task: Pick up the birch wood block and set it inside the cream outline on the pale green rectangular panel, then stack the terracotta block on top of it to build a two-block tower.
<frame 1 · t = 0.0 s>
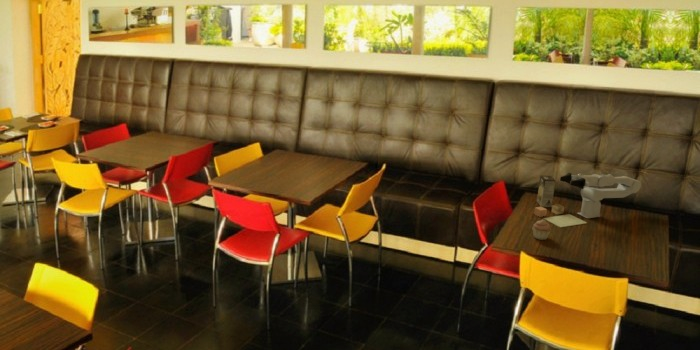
hand: (565, 181, 312), 22 cm above the table, tool horizontal, fingers open, 7 cm apart
coffee box: (544, 204, 341), on the table
cupcake: (540, 238, 295), on the table
terracotta block: (539, 215, 325), on the table
pale green rectangular panel: (565, 221, 317), on the table
birch block: (557, 212, 329), on the table
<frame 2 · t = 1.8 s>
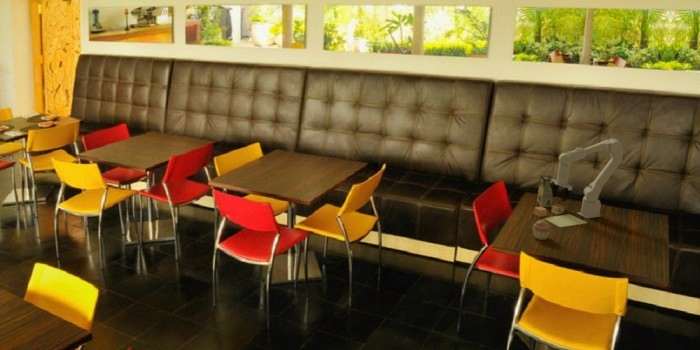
hand: (559, 198, 327), 8 cm above the table, tool pointing down, fingers open, 7 cm apart
nothing on the table moved.
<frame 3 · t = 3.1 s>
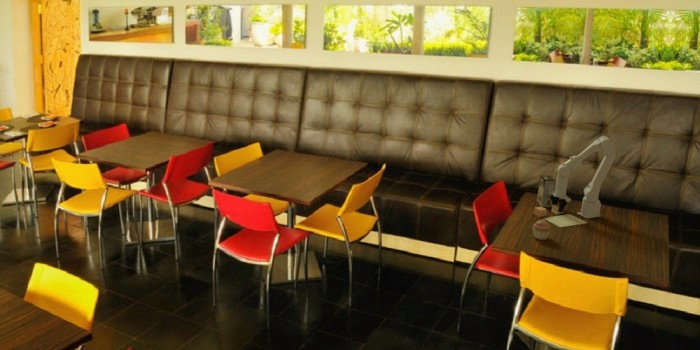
hand: (557, 210, 329), 1 cm above the table, tool pointing down, fingers closed on birch block, 4 cm apart
birch block: (557, 212, 329), on the table, touching gripper
everything else where it was.
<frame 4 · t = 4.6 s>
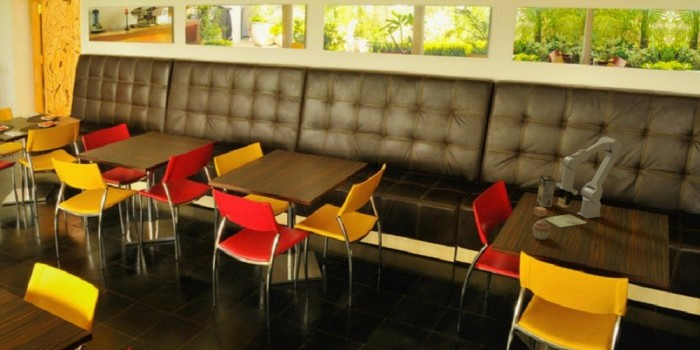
hand: (564, 203, 319), 8 cm above the table, tool pointing down, fingers closed on birch block, 4 cm apart
birch block: (563, 205, 319), point 7 cm above the table, touching gripper
everything else where it was.
when the fingers open (3 cm above the table, at t = 6.5 s): birch block stays where it is, resting on pale green rectangular panel.
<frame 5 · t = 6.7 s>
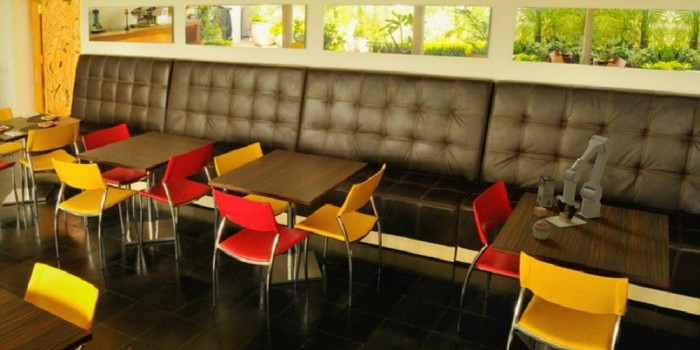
hand: (565, 216, 316), 3 cm above the table, tool pointing down, fingers open, 6 cm apart
birch block: (565, 220, 317), resting on pale green rectangular panel
everything else where it was.
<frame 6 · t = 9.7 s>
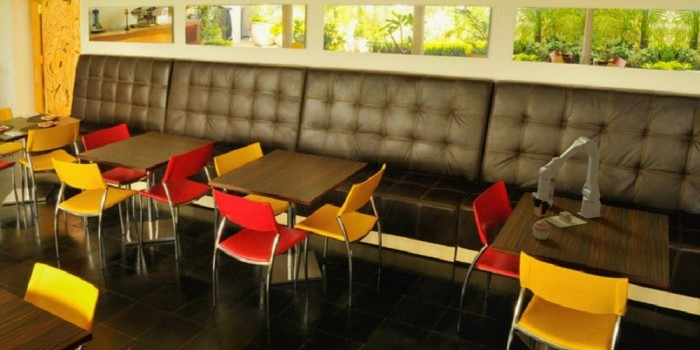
hand: (540, 212, 324), 1 cm above the table, tool pointing down, fingers closed on terracotta block, 4 cm apart
terracotta block: (539, 215, 325), on the table, touching gripper
everything else where it was.
when the fingers open (7 cm above the table, at t = 13.2 s): terracotta block stays where it is, resting on birch block.
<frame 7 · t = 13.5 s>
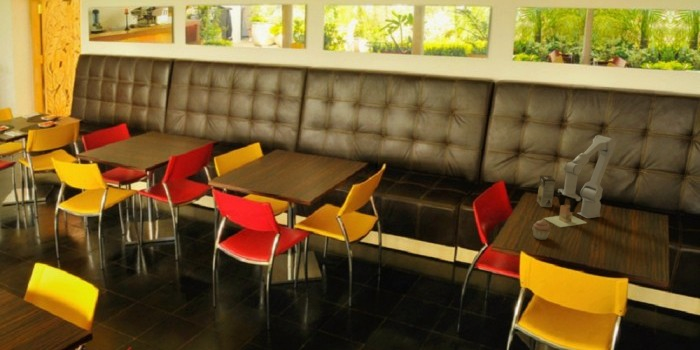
hand: (566, 209, 315), 7 cm above the table, tool pointing down, fingers open, 7 cm apart
terracotta block: (565, 213, 316), point 4 cm above the table, touching birch block
birch block: (565, 220, 317), resting on pale green rectangular panel, touching terracotta block
everything else where it was.
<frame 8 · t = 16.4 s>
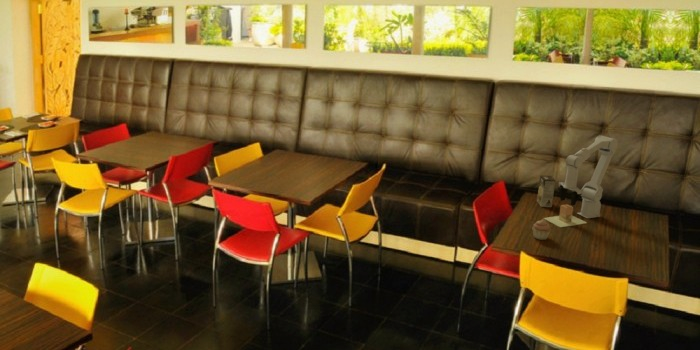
hand: (567, 202, 314), 10 cm above the table, tool pointing down, fingers open, 7 cm apart
nothing on the table moved.
at the end: birch block 0.1 cm off-centre on the pale green rectangular panel, point 0.4 cm above the pale green rectangular panel's base; terracotta block 0.1 cm off-centre on the birch block, point 4.0 cm above the birch block's base; terracotta block tilted 0° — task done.
